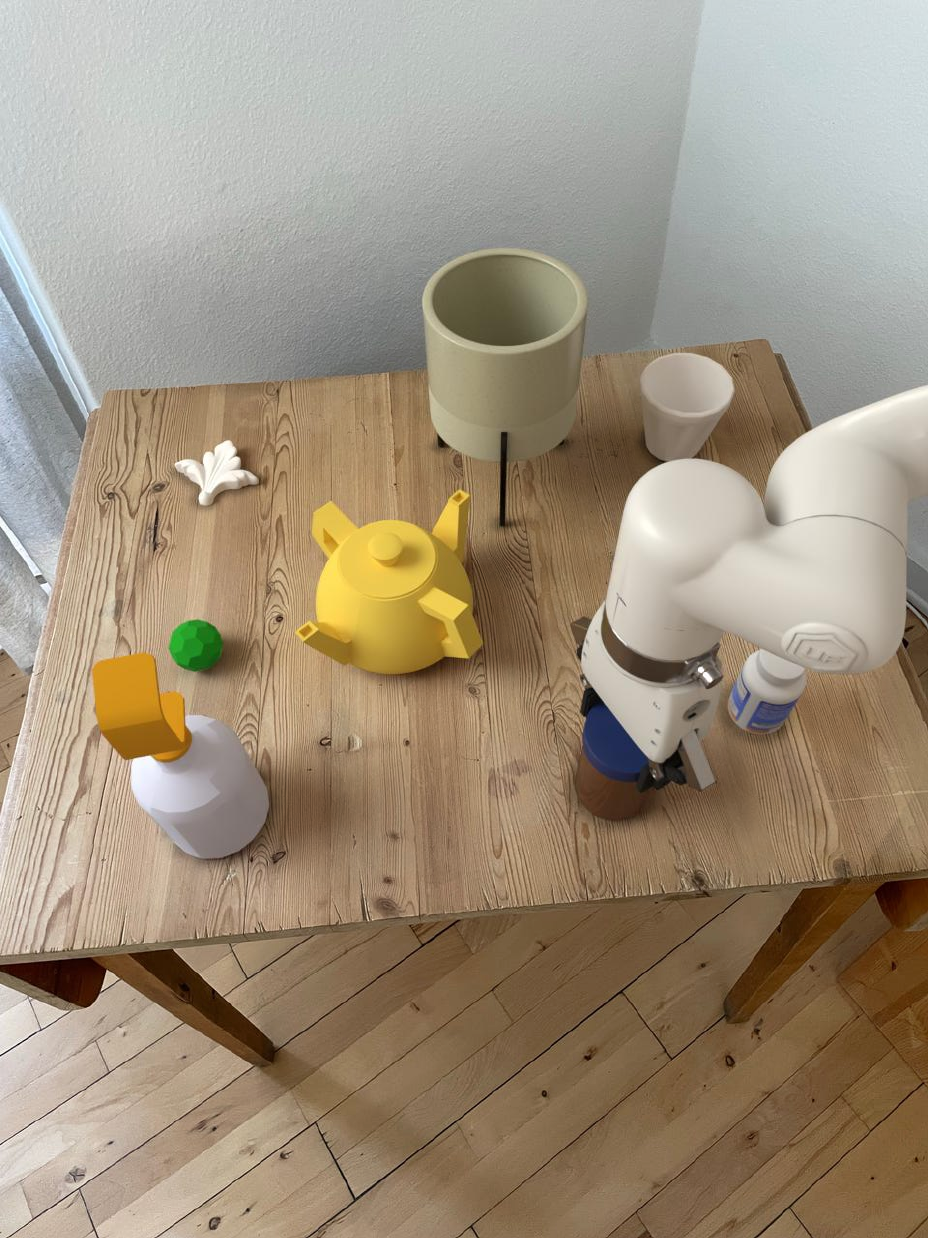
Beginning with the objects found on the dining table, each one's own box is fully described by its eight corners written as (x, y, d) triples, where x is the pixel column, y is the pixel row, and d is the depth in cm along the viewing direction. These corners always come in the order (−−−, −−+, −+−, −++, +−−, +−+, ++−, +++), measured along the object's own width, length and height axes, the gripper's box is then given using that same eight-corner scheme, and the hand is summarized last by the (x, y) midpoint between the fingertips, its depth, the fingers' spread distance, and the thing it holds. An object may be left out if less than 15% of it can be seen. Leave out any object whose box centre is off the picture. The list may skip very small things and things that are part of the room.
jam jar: (653, 760, 79) (674, 707, 70) (643, 829, 76) (663, 782, 67) (582, 745, 80) (593, 690, 71) (568, 811, 77) (579, 762, 68)
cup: (655, 402, 104) (668, 339, 97) (731, 436, 101) (751, 374, 93) (612, 453, 100) (622, 391, 92) (690, 490, 97) (708, 429, 89)
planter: (600, 484, 97) (627, 311, 78) (477, 542, 94) (474, 374, 74) (528, 403, 105) (537, 226, 86) (411, 452, 101) (393, 279, 82)
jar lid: (674, 714, 72) (679, 703, 70) (663, 791, 68) (668, 782, 66) (590, 696, 73) (592, 685, 71) (574, 771, 69) (576, 761, 68)
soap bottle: (265, 754, 81) (188, 607, 60) (274, 849, 76) (193, 724, 55) (167, 774, 80) (55, 631, 59) (169, 870, 75) (48, 752, 54)
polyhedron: (223, 631, 88) (210, 604, 84) (232, 671, 86) (219, 645, 82) (174, 645, 87) (159, 619, 83) (181, 685, 85) (166, 661, 81)
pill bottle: (796, 708, 82) (830, 656, 74) (764, 747, 80) (795, 698, 72) (746, 674, 84) (774, 619, 76) (714, 712, 82) (739, 659, 74)
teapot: (319, 554, 93) (299, 478, 83) (475, 546, 93) (473, 469, 83) (311, 693, 84) (287, 627, 74) (484, 684, 84) (483, 616, 74)
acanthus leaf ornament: (176, 471, 100) (171, 459, 99) (230, 445, 102) (226, 433, 101) (205, 510, 97) (200, 499, 95) (260, 483, 99) (256, 471, 97)
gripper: (799, 701, 52) (731, 808, 67) (627, 512, 61) (600, 644, 76) (701, 761, 51) (653, 857, 65) (537, 557, 59) (527, 684, 74)
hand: (625, 742), depth 70 cm, fingers closed on jar lid, 7 cm apart
